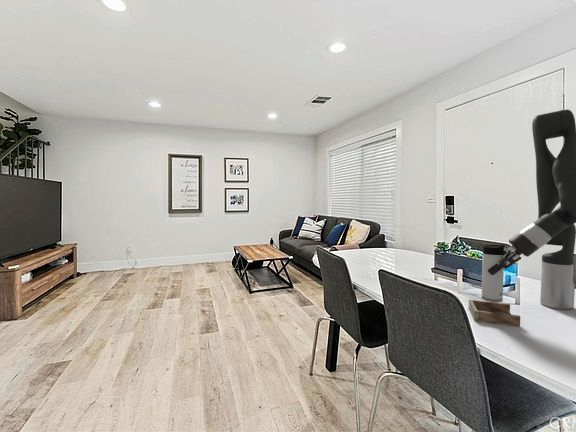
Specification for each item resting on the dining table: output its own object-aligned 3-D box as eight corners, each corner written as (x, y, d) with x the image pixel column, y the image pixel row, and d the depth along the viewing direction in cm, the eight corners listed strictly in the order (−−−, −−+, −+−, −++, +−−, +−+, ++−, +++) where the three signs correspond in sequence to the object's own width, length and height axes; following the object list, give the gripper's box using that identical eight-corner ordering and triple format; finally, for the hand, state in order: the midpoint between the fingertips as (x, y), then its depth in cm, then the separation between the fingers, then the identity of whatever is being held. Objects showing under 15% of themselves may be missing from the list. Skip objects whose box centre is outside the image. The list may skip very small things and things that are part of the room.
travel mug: (507, 303, 103) (508, 246, 102) (486, 301, 104) (487, 245, 103) (498, 297, 109) (499, 243, 108) (478, 296, 110) (479, 243, 109)
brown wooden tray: (509, 313, 110) (509, 303, 110) (520, 326, 98) (520, 316, 98) (468, 308, 115) (468, 299, 115) (474, 320, 103) (474, 311, 103)
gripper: (514, 230, 109) (475, 259, 114) (527, 234, 96) (482, 267, 101) (531, 245, 107) (491, 274, 112) (547, 251, 94) (501, 284, 99)
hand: (487, 270), depth 107 cm, fingers closed on travel mug, 6 cm apart
